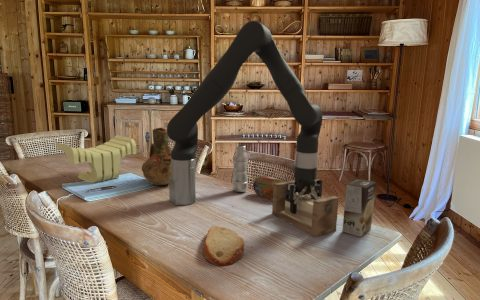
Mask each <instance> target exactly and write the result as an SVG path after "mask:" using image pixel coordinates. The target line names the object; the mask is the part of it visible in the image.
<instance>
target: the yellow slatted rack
mask: <svg viewBox="0 0 480 300" xmlns="http://www.w3.org/2000/svg"><path fill="white" fill-rule="evenodd" d="M55 146H56V147H55V148H56V149H57V150H59V151H61V152H63V153H65V155H66V156H67V158H68V161H69V164H71V165H73V166H75V165H78V164H81V163H85V162H87V163H88V166H89V167H90V169H91V170H89V171H86V172H84V171H83V172H79V173H78V175H77V179H80V180H83V181H85V182H87V181H88V183H90V182H92V183H91V184H94V183H97V182H103V181H107V180H111V179H117V178H119V177H120V166H121V162H122V159H123V158H124V157H126V156H128V155H137V144H136V141H135V139H134V138H132V137H129V136H124V135H119V134H115V136H114V137H113V138H110V140H108V141H106V142H103V144H99V145H97V146H94V147H87V148H78V147H73V146H70V145H67V144H63V143H60V142H55Z"/></svg>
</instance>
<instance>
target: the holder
mask: <svg viewBox="0 0 480 300" xmlns="http://www.w3.org/2000/svg"><path fill="white" fill-rule="evenodd" d="M288 183H289V184H294V183H295V180H289V181H288V180H287V181H284V182H281V183H275V184H274V185H273V199H272V208H271V209H272V212H271V214H272V215H274V216H276V217H278V218H279V219H281V220H284V221H285V222H287V223H289V224H291V225H293V226H295V227H296V228H298V229H300V230H302V231H304V232H305V233H308V234H310V235H311V236H312V237H320V236H323V235H326V234H330V233H334V232H336V231H337V225H338V224H337V222H338V212H339V211H338V209H339V201H340V200H339V196H335V195H332V196H328V197H324V198H319V199H318V198H317V200H313V213H312V226H311V225H309V224H307V223H305V222H303V221H301V220H299V219H297V218H295V217H293V216H291V215H289V214H287V213H285V196H286V187H287V184H288ZM294 189H295V188H294Z"/></svg>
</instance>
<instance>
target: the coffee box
mask: <svg viewBox="0 0 480 300" xmlns="http://www.w3.org/2000/svg"><path fill="white" fill-rule="evenodd" d="M376 186H377V182H376V181H371V180H368V179H367V180H366V179H360V178H356V179H354V180H352V181H349V182H347V183H346V187H345V188H346V190H345V198H344V209H343V219H342V220H343V221H342V232H343V233H346V234H350V235H353V236H355V237H360V238H361V237H362V236H363V235H364V234H366V233H367V232H368V231H370V230H371V229H372V223H373V214H374V204H375V197H376V196H375V195H376Z"/></svg>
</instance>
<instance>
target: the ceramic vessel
mask: <svg viewBox="0 0 480 300" xmlns="http://www.w3.org/2000/svg"><path fill="white" fill-rule="evenodd" d="M152 141H153V142H152V143H151V144H150V151H149V158H148V159H146V160H145V161H144V162H143V163H142V165H141V171H142V172H143V173H142V174H143V176H144V179H146V180H147V181H148V182H149V183H151V184H152V185H156V186H165V185H169V177H171V151H172V148H171V146H170V145H169V137H168V135H167V128H164V127H155V128H153V129H152Z"/></svg>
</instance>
